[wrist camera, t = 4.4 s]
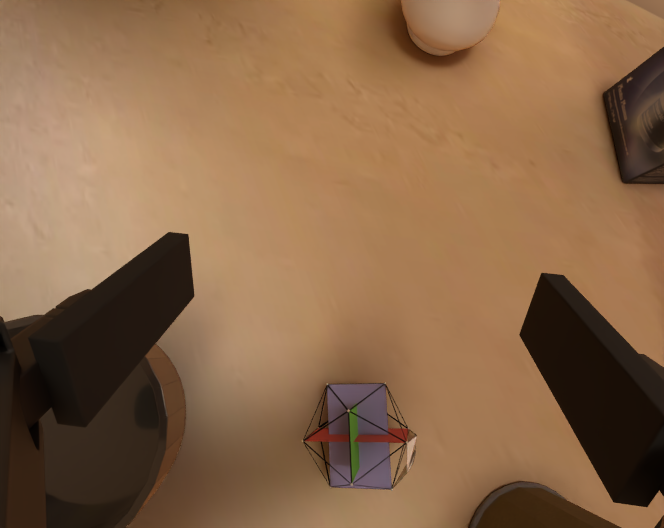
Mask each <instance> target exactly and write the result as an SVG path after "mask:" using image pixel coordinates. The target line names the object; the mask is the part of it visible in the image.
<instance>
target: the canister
mask: <svg viewBox="0 0 664 528" xmlns="http://www.w3.org/2000/svg"><path fill="white" fill-rule="evenodd" d="M470 528H621V527H619V526H617V525H615V524H613V523H611V522H609V521H607V520H605V519H603V518H601V517H599V516H597V515H595V514H593V513H591V512H589V511H587V510H585V509H583V508H581V507H579V506H577V505H575V504H573V503H571V502H569V501H567V500H566V499H565V498H564V497H562V496H561V495H560V494H558V493H557V492H556V491H554V490H552V489H550V488H548V487H546V486H544V485H541V484H537V483H530V482H518V483H514V484H510V485H507V486H505V487H503V488H501V489H499V490H497V491H495V492H493V493H492V494H491V495H490V496H489V497H488V498H487V499H486V500H484V501H483V503H482V504H481V505H480V507H479V508H478V509H477V511H476V513H475V515H474V518H473V520H472V522H471V524H470Z"/></svg>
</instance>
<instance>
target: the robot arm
mask: <svg viewBox="0 0 664 528" xmlns="http://www.w3.org/2000/svg"><path fill="white" fill-rule="evenodd" d="M193 297H194V287H193V277H192V267H191V257H190V247H189V237H188V234H182V233H172V232H168V233H167V234H166V235H164V236H163V237H162V238H160V239H159V240H158V241H156V242H155V243H154V244H152V245H151V246H150V247H148V248H147V249H145V250H144V251H143V252H141V253H140V254H139V255H137V256H136V257H135V258H133V259H132V260H131V261H129V262H128V263H127V264H125V265H124V266H123V267H121V268H120V269H119V270H117V271H116V272H115V273H113V274H112V275H111V276H109V277H108V278H107V279H105V280H104V281H103V282H101V283H100V284H99V285H97V286H96V287H95V288H93V289H92V290H90V289H87V290H84V291H82V292H80V293H77V294H75V295H73V296H70V297H68V298H67V299H66V300H64V301H63V302H61V303H60V304H59V305H57V306H56V308H55V309H54V308H53V309H52V310H50V311H49V312H48V313H46V314H45V316H44V317H41V318H39V319H38V320H36V321H35V322H34V323H32V324H31V325H29V326H28V327H27V328H25V329H24V330H22V331H21V332H20V333H18V334H17V335H15V336H14V337H13V338H11V339H10V336H9V334H8V331H7V328H6V325H5V323H4V320H3V318H2V317H1V316H0V528H46V497H45V465H44V434H43V426H42V423H41V421H40V418H41V417H42V416H43V415H44V414H45V413H46V412H47V411H48V410H49V409H50V408H51V407H52V410H53V413H54V416H55V419H56V421H57V424H62V425H69V426H76V427H83V428H86V427H87V426H88V424H89V423H90V422H91V421H92V419H93V418H94V417H95V416H96V415H97V413H98V412H99V411H100V410H101V409H102V407H103V406H104V405H105V404H106V403H107V401H108V400H109V399H110V398H111V397H112V395H113V394H114V393H115V392H116V390H117V389H118V388H119V387H120V386H121V384H122V383H123V382H124V381H125V380H126V378H127V377H128V376H129V375H130V374H131V372H132V371H133V370H134V369H135V368H136V366H137V365H138V364H139V363H140V361H141V360H142V359H143V358H144V357H145V355H146V354H147V353H148V352H149V351H150V349H151V348H152V347H153V346H154V345H155V343H156V342H157V341H158V340H159V339H160V337H161V336H162V335H163V334H164V332H165V331H166V330H167V329H168V328H169V326H170V325H171V324H172V323H173V322H174V320H175V319H176V318H177V317H178V316H179V314H180V313H181V312H182V311H183V310H184V308H185V307H186V306H187V305H188V303H189V302H190V301H191V300H192V299H193ZM519 335H520V337H521V339H522V340H523V342H524V344H525V346H526V348H527V349H528V351H529V353H530V355H531V356H532V358H533V360H534V362H535V364H536V365H537V367H538V369H539V371H540V372H541V374H542V376H543V378H544V380H545V381H546V383H547V385H548V387H549V388H550V390H551V392H552V394H553V396H554V397H555V399H556V401H557V403H558V404H559V406H560V408H561V410H562V412H563V413H564V415H565V417H566V419H567V420H568V422H569V424H570V426H571V428H572V429H573V431H574V433H575V435H576V436H577V438H578V440H579V442H580V444H581V445H582V447H583V449H584V451H585V452H586V454H587V456H588V458H589V460H590V461H591V463H592V465H593V467H594V468H595V470H596V472H597V474H598V475H599V477H600V479H601V481H602V483H603V484H604V486H605V488H606V490H607V491H608V493H609V495H610V497H611V499H612V500H613V502H615V503H622V504H629V505H636V506H643V507H648V505H649V504H650V502H651V501H652V500H653V498H654V497H655V495H656V494H657V493H658V491H659V490H660V492H661V493H662V495H663V496H664V367H662V366H661V365H659V364H658V363H656V362H655V361H653V360H652V359H650V358H649V357H647V356H646V355H644V354H638V353H637V352H636V351H635V350H634V349H633V347H632V346H631V345H630V344H629V343H628V342H627V341H626V340H625V339H624V338H623V337H622V336H621V335H620V334H619V333H618V332H617V331H616V330H615V329H614V328H613V327H612V326H611V324H610V323H609V322H608V321H607V320H606V319H605V318H604V317H603V316H602V315H601V314H600V313H599V312H598V311H597V310H596V309H595V308H594V307H593V306H592V305H591V304H590V303H589V301H588V300H587V299H586V298H585V297H584V296H583V295H582V294H581V293H580V292H579V291H578V290H577V289H576V288H575V287H574V286H573V285H572V284H571V283H570V282H569V281H568V280H567V278H566V277H565V276H564V275H558V274H548V273H541V275H540V278H539V281H538V284H537V287H536V290H535V292H534V295H533V298H532V301H531V304H530V306H529V309H528V312H527V315H526V318H525V320H524V323H523V326H522V329H521V332H520V334H519ZM655 528H664V516H663V517H662V518H661V520H660V521H659V522H658V524H657V525H656V526H655Z"/></svg>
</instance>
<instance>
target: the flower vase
mask: <svg viewBox="0 0 664 528" xmlns="http://www.w3.org/2000/svg"><path fill="white" fill-rule="evenodd" d="M401 5H402V11H403V15H404V18H405V20H406V22H407V29H408V33H409V35H410V38H411V39H412V41H413V42H414V43H415V44H416V45H417V46H418V47H419V48H420V49H422V50H423V51H425V52H427V53H429V54H433V55H437V56H445V55H449V54H452V53H454V52H455V51H459V50H463V49H467V48H470V47H472V46H474V45H476V44H477V43H479V42H481V41H482V40H483V39H484V38H485V37H486V36H487V35H488V33H489V32H490V31H491V30H492V28H493V25H494V23H495V20H496V18H497V15H498V12H499V8H500V0H401Z"/></svg>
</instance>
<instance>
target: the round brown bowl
mask: <svg viewBox="0 0 664 528" xmlns="http://www.w3.org/2000/svg"><path fill="white" fill-rule="evenodd" d="M44 316H45V315H33V316H29V317H24V318H20V319H16V320H12V321H8V322H4V323H5V325H6V328H7V331H8V334H9V336H10V339H11V338H13V337H14V336H15V335H17V334H18V333H20V332H21V331H22V330H24V329H25V328H27V327H28V326H29V325H31V324H32V323H34V322H35V321H36V320H38V319H39V318H41V317H44ZM40 421H41V423H42V426H43V434H44V465H45V497H46V528H126V527H127V526H128V525H129V524H130V522H131V521H132V520H133V519H134V518H135V517H136V516H137V515H138V513H139V512H140V511H141V510H142V508H143V507H144V506H145V505H146V503H147V502H148V501H149V500H150V498H151V497H152V496H153V495H154V493H155V492H156V491H157V490H158V488H159V487H160V485H161V484H162V482H163V480H164V479H165V477H166V476H167V474H168V473H169V471H170V469H171V467H172V465H173V464H174V462H175V460H176V457H177V455H178V452H179V449H180V447H181V443H182V439H183V435H184V431H185V423H186V402H185V395H184V390H183V386H182V383H181V380H180V377H179V375H178V373H177V370H176V368H175V367H174V365H173V364H172V362H171V360H170V359H169V357H168V356H167V355H166V354H165V353H164V351H163V350H162V349H161V348H160V347H159V346H157V345H156V344H155V345H154V346H153V347H152V348H151V349H150V351H149V352H148V353H147V354H146V355H145V357H144V358H143V359H142V360H141V361H140V363H139V364H138V365H137V366H136V368H135V369H134V370H133V371H132V372H131V374H130V375H129V376H128V377H127V378H126V380H125V381H124V382H123V383H122V384H121V386H120V387H119V388H118V389H117V390H116V392H115V393H114V394H113V395H112V397H111V398H110V399H109V400H108V401H107V403H106V404H105V405H104V406H103V407H102V409H101V410H100V411H99V412H98V413H97V415H96V416H95V417H94V418H93V419H92V421H91V422H90V423H89V424H88V426H87V427H86V428H83V427H76V426H69V425H62V424H57V421H56V419H55V416H54V413H53V410H52V407H51V408H50V409H49V410H48V411H47V412H46V413H45V414H44V415H43V416H42V417H41V418H40Z"/></svg>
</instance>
